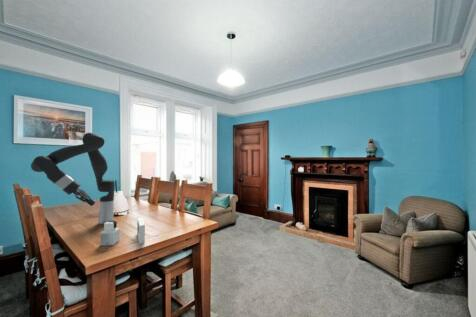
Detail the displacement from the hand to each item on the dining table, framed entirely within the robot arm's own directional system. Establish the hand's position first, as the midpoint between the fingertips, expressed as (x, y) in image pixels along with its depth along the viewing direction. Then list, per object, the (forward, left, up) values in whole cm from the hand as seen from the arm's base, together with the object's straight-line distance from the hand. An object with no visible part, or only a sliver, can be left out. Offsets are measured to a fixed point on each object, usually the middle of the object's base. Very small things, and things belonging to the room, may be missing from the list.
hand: (93, 204), depth 126 cm
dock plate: (+25, +7, -24) cm, 35 cm away
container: (+9, +1, -24) cm, 26 cm away
